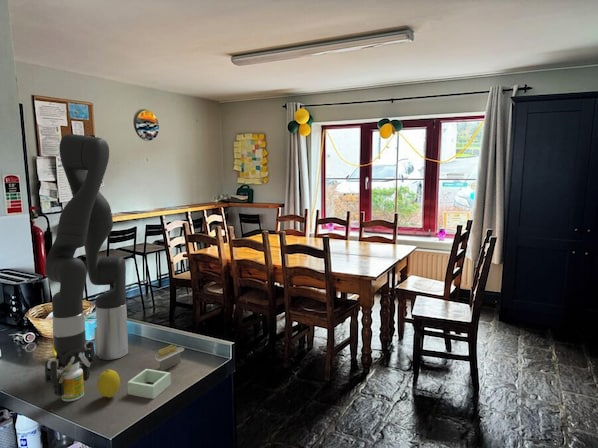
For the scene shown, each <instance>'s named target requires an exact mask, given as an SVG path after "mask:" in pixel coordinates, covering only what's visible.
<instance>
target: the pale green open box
mask: <svg viewBox="0 0 598 448" xmlns="http://www.w3.org/2000/svg"><path fill="white" fill-rule="evenodd" d="M126 383H127V384H126V385H127V395H131V396H136V397H141V398H146V399H151V400H154V399H156V398H157V397H158V396H159V395H160V394H161V393H163V391H165V390H166V389H167V388H168V387H169V386H171V384H172V372H168V371H160V370H156V369H150V368H145V369H144V370H142V371H141V372H139V373H138V374H136V376H134V377H132V378H131V379H129V380H128V381H127V382H126ZM148 383H149V384H148ZM150 383H153V384H150Z"/></svg>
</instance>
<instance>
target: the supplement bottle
mask: <svg viewBox="0 0 598 448" xmlns="http://www.w3.org/2000/svg"><path fill="white" fill-rule="evenodd" d="M80 367H81V366H80V365H79V361H78V362H76V363H75V364H73V365H71V367H70V369H69V371H68V373H67V374H66V375H65V377H64V379H63V381H62V382H63V384H64V395H63V396H60V397H61V400H62V401H63V402H74V401H78V400H79V399H81V398H82V397H83V396H84V395H85V388H84V387H85V385H84V380H83V370H82V368H80ZM64 369H65V368H62V370H64Z"/></svg>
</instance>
